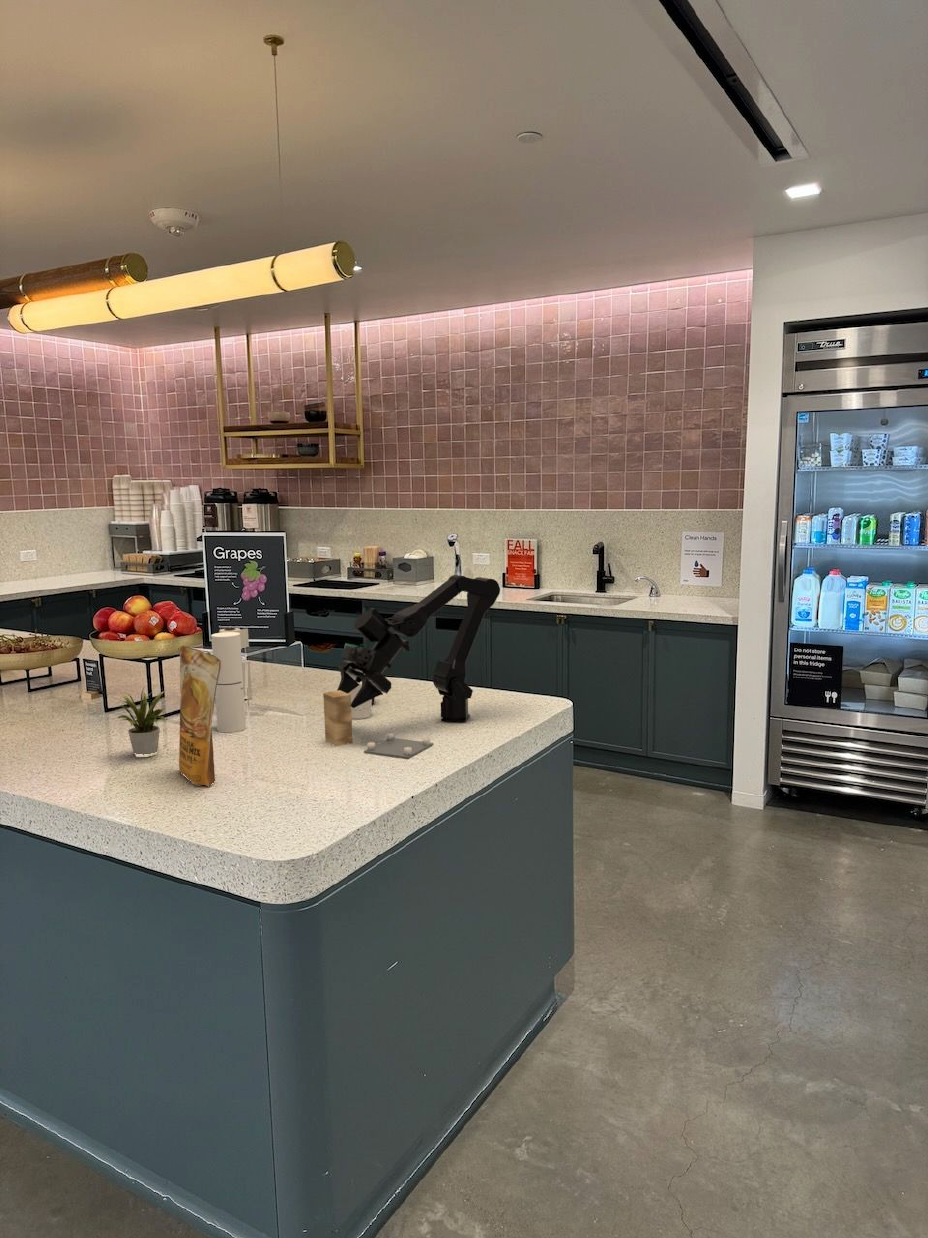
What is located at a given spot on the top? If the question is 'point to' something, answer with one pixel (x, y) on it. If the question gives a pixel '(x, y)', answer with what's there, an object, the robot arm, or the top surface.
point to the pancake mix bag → (197, 714)
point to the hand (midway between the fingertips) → (343, 703)
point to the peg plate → (398, 747)
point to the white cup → (362, 709)
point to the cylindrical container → (229, 682)
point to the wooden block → (338, 717)
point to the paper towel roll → (244, 644)
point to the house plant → (143, 725)
